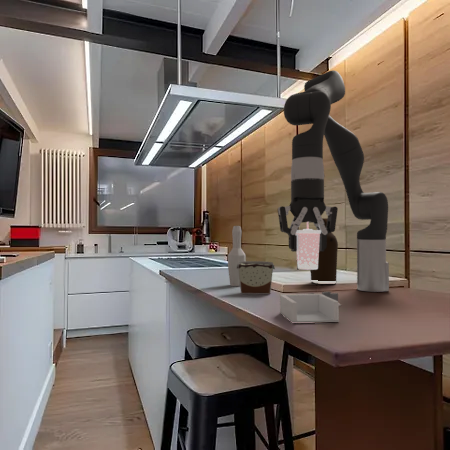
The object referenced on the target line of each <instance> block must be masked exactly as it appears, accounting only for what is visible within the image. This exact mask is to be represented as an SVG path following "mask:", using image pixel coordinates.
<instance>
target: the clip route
mask: <svg viewBox="0 0 450 450" xmlns="http://www.w3.org/2000/svg"><path fill="white" fill-rule="evenodd" d="M308 294H315V293H314V292H310V293H308ZM321 294H323V295H325V296H327V297H329V298H331V299H334V300H336V301H338V302H339V293H338V292H337V293H336V292H335V293H334V292H333V293H332V292H331V291H322V292H321ZM341 306H342V303H340V302H339V307H341Z"/></svg>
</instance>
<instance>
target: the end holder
mask: <svg viewBox="0 0 450 450" xmlns="http://www.w3.org/2000/svg"><path fill="white" fill-rule="evenodd" d="M339 303H340V302H339V300H338V301H336V300H334V299H331V298H329V297H327V296H325V295H323V294H322V293H314V294H309V293H296V294H290V293H289V294H284V293H283V294H279V314H280V313H281V314H282V315H284V316H285V317H286V318H288V319H289V320H290V321H292V322H339V323H340V321H339V320H340V319H339V318H340V317H339V316H340V315H339V314H340V313H339V310H340V309H339V308H340V306H339ZM281 314H280V315H281ZM282 315H281V316H282ZM284 316H283V317H284ZM285 317H284V318H285ZM286 318H285V319H286Z"/></svg>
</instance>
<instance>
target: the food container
mask: <svg viewBox="0 0 450 450" xmlns="http://www.w3.org/2000/svg"><path fill="white" fill-rule="evenodd" d="M236 269H239V279H240V286H239V287H240V294H243V295H244V294H245V295H246V294H247V295H271V290H272V280H273V271H274V270H276V266H275V264H274V262H272V261H263V260H261V261H260V260H258V261H257V260H251V261H250V260H249V261H248V260H246V261H244V262H238V264H237V268H236Z"/></svg>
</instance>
